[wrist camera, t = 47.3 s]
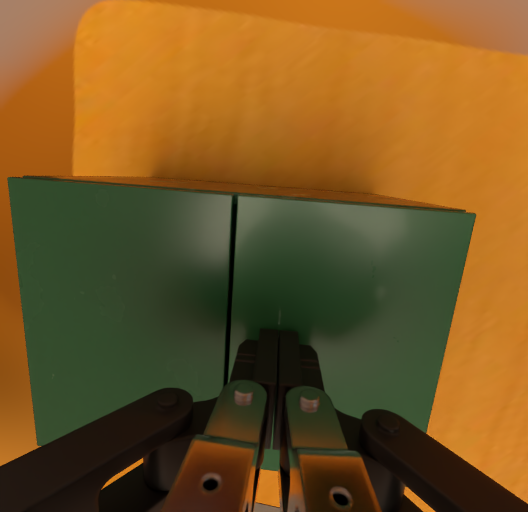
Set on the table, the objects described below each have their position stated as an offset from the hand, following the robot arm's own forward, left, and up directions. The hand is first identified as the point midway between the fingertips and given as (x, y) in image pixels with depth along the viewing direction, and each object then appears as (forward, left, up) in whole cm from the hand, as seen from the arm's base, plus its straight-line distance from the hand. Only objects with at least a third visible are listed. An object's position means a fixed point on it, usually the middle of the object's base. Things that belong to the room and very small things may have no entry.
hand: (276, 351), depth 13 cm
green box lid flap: (-2, +2, 0) cm, 2 cm away
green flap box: (+1, -1, -13) cm, 13 cm away
